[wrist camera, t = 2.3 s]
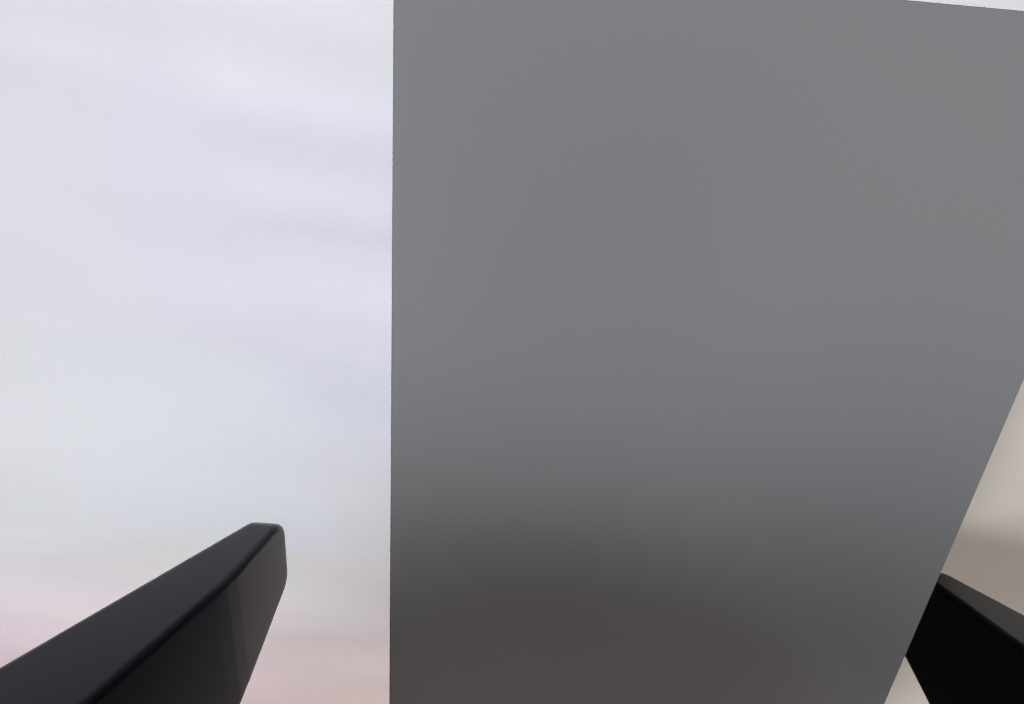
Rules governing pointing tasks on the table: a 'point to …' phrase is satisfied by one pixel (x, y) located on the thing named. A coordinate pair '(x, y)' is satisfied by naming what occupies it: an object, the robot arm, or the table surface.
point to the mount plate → (987, 538)
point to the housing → (692, 339)
